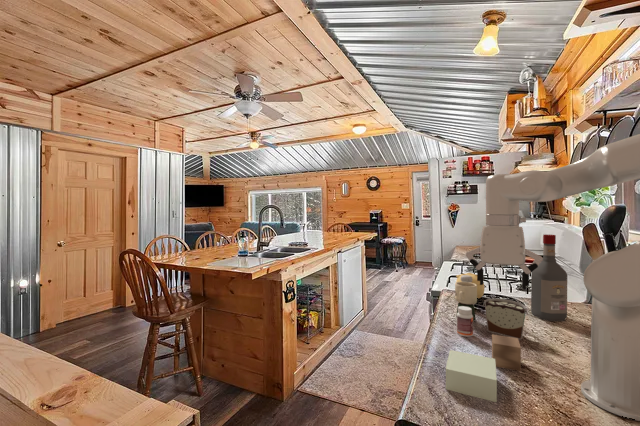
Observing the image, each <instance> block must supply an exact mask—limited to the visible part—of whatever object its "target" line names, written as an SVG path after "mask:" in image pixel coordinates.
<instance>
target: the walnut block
mask: <svg viewBox="0 0 640 426" xmlns="http://www.w3.org/2000/svg"><path fill="white" fill-rule="evenodd" d="M491 358H493V359H495V363H496V368H503V369H507V370H513V371H517V372H521V370H522V366H521V365H522V362H521V361H522V360H521V359H522V347H521V344H520V341H519V339H518V338H513V337H508V336H504V335H500V334H495V333H492V334H491Z"/></svg>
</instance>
